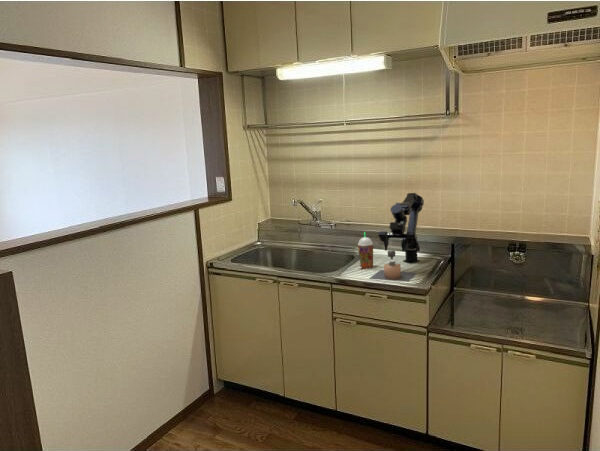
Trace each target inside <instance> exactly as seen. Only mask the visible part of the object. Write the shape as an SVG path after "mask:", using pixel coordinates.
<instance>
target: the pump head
mask: <svg viewBox="0 0 600 451" xmlns="http://www.w3.org/2000/svg"><path fill="white" fill-rule="evenodd" d="M387 257H389V258H390V260H394V258H395V257H396V250H393V249H392V250H387Z"/></svg>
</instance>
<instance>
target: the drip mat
mask: <svg viewBox="0 0 600 451" xmlns="http://www.w3.org/2000/svg"><path fill="white" fill-rule="evenodd" d="M418 273H419V272H417V271H402V270H401V278H399V279H386V278H385V276H384V269H380V270H379V271H378V270H377V272H375V274H373V275H371V276H370V277H369V278H368V279H369V280H380V281H381V280H382V281H395V282H396V281H397V282H411V280H412V279H413V278H414V277H415V276H416V275H417V274H418Z"/></svg>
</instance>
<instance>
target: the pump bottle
mask: <svg viewBox="0 0 600 451" xmlns="http://www.w3.org/2000/svg"><path fill="white" fill-rule="evenodd" d="M383 270H384V276H385V278H386V279H399V278H401V271H402V267H401V263H396V261H389V262H388V263H386V264H384V265H383Z"/></svg>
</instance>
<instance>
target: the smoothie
mask: <svg viewBox="0 0 600 451" xmlns="http://www.w3.org/2000/svg"><path fill="white" fill-rule="evenodd" d="M357 249H358V256H359V257H358V258H359V264H360V266H359V267H361V269H362V268H363V269H362V270H364V269H371V268H373V266H374V242H373V241H372V239H371V238H370V237H367V236H366V231H364V232H363V237H361V238H360V239H359V240H358V243H357Z"/></svg>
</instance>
